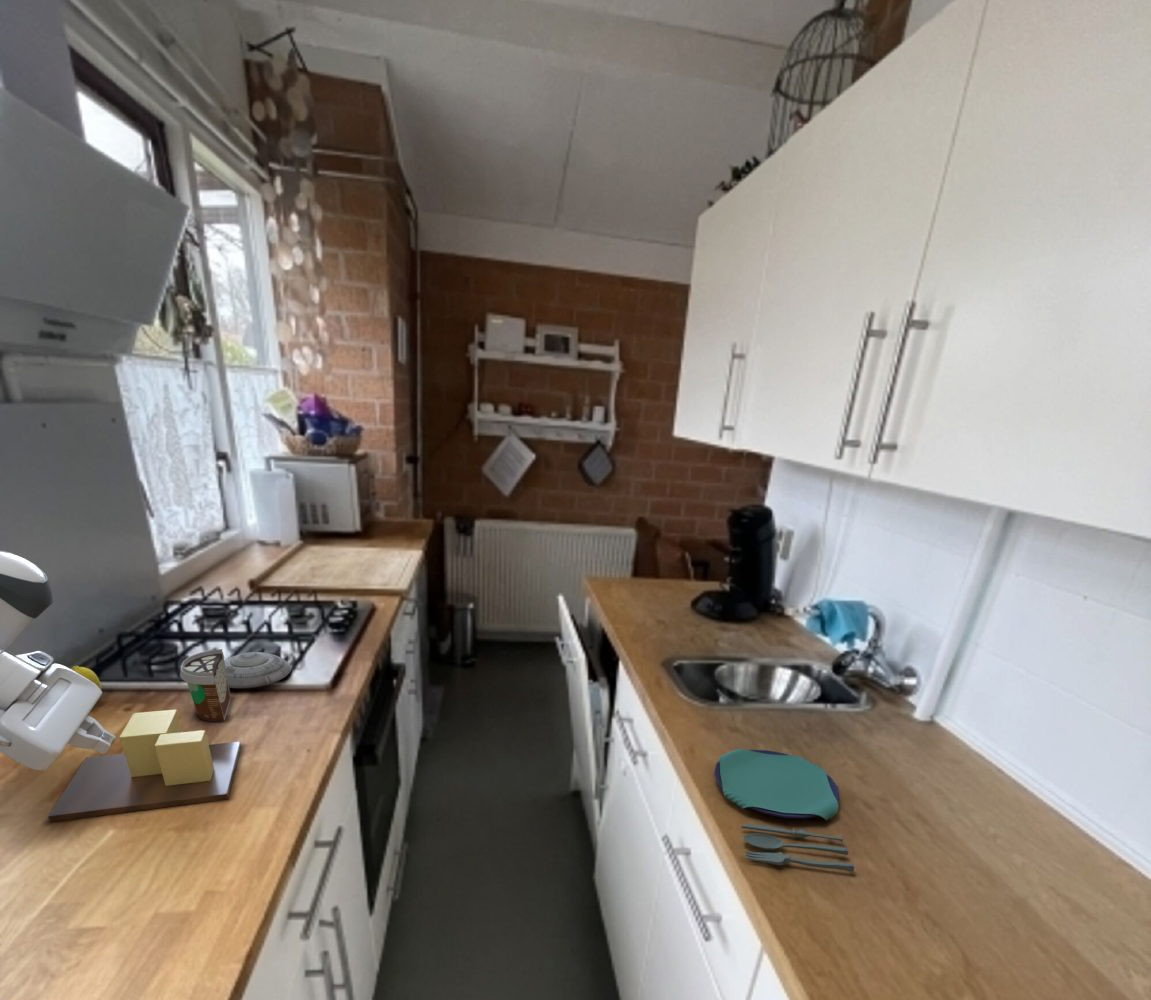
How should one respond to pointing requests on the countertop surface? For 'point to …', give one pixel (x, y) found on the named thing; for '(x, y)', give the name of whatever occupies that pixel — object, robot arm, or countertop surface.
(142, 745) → the butter block
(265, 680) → the flying saucer
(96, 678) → the lemon
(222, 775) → the butter board
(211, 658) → the food container
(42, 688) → the robot arm
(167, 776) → the butter slice
